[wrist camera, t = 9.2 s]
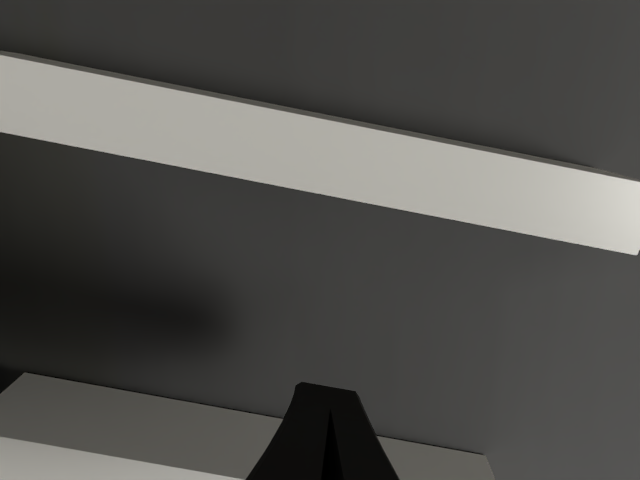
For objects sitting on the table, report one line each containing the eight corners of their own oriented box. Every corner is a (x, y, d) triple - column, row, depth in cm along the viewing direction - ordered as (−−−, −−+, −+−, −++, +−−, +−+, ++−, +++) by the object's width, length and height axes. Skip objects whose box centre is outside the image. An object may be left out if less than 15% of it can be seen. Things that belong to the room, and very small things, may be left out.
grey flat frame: (471, 490, 15) (497, 565, 12) (-334, 347, 14) (-470, 397, 12) (597, 168, 11) (667, 187, 9) (-460, -42, 11) (-690, -83, 8)
